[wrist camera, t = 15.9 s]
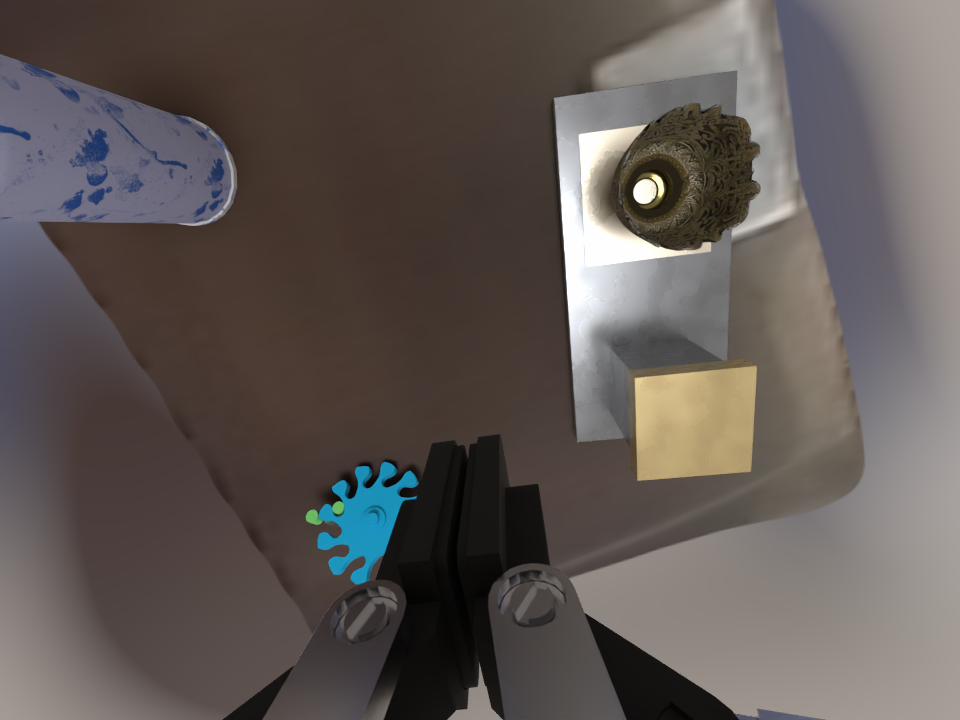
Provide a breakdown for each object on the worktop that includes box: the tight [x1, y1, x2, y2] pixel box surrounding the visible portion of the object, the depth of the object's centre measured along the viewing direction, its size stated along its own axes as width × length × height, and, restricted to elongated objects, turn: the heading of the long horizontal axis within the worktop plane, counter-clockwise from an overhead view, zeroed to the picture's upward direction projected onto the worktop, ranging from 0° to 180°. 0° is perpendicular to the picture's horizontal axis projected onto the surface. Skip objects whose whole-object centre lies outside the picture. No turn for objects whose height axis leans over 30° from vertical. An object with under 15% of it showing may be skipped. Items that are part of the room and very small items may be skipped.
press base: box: [552, 71, 737, 446], centre depth 31 cm, size 26×12×8 cm, turn 7°
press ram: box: [628, 359, 757, 481], centre depth 31 cm, size 7×7×8 cm
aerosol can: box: [0, 54, 237, 226], centre depth 24 cm, size 8×8×20 cm
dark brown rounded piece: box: [611, 103, 760, 251], centre depth 27 cm, size 8×7×8 cm
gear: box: [306, 462, 419, 585], centre depth 40 cm, size 11×6×10 cm
